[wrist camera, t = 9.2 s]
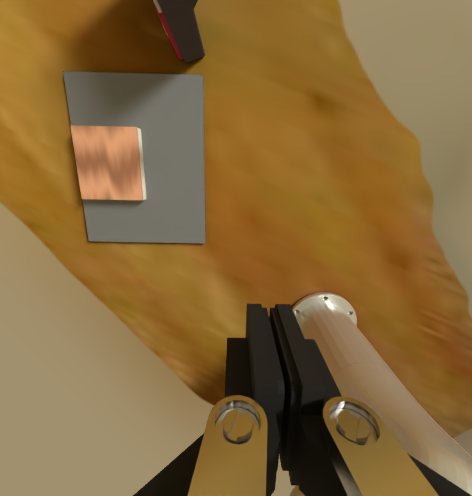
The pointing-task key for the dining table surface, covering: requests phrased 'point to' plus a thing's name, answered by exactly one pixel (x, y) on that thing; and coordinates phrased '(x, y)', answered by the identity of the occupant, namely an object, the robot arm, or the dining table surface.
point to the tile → (109, 162)
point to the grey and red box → (181, 27)
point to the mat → (148, 152)
